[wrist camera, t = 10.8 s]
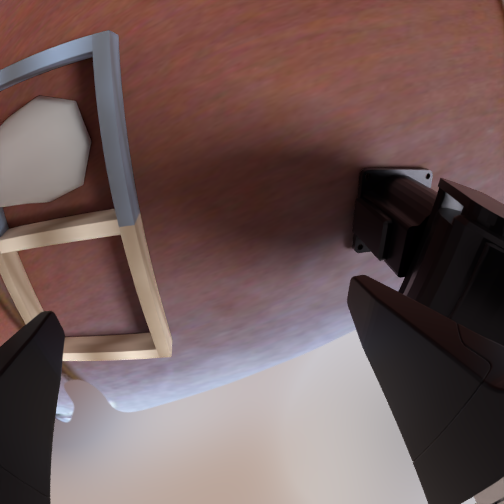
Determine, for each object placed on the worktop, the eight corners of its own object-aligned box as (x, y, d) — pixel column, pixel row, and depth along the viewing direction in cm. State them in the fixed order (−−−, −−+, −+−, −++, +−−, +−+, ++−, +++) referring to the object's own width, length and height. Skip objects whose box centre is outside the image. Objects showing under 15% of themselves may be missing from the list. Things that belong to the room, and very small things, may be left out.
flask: (99, 195, 18) (31, 285, 9) (13, 205, 17) (-68, 285, 8) (90, 84, 14) (-8, 91, 6) (0, 107, 13) (-105, 141, 5)
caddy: (118, 35, 13) (109, 29, 11) (172, 339, 25) (171, 356, 23) (-29, 92, 12) (-45, 95, 10) (53, 345, 23) (47, 360, 22)
